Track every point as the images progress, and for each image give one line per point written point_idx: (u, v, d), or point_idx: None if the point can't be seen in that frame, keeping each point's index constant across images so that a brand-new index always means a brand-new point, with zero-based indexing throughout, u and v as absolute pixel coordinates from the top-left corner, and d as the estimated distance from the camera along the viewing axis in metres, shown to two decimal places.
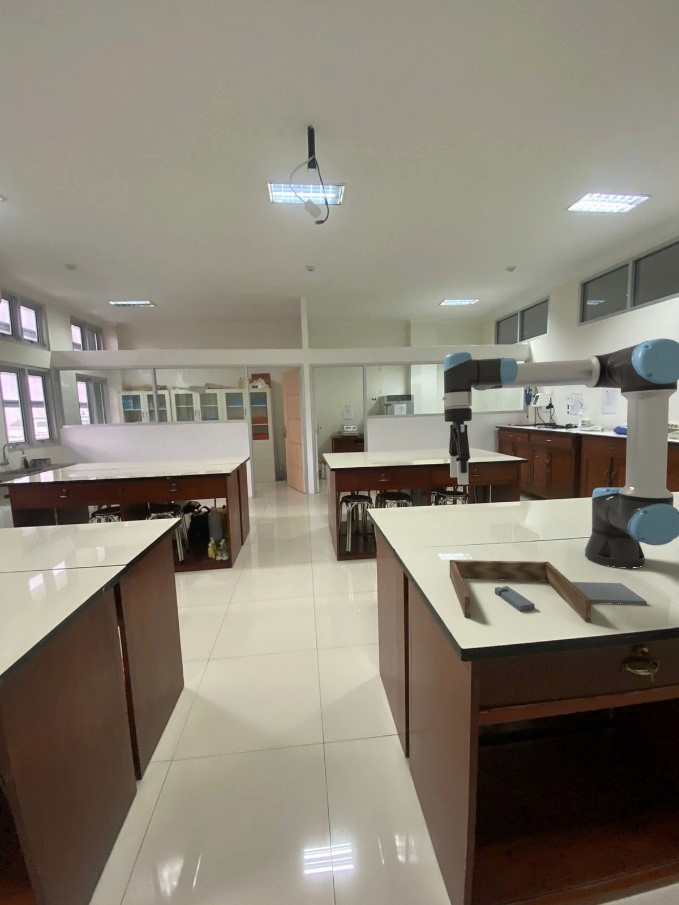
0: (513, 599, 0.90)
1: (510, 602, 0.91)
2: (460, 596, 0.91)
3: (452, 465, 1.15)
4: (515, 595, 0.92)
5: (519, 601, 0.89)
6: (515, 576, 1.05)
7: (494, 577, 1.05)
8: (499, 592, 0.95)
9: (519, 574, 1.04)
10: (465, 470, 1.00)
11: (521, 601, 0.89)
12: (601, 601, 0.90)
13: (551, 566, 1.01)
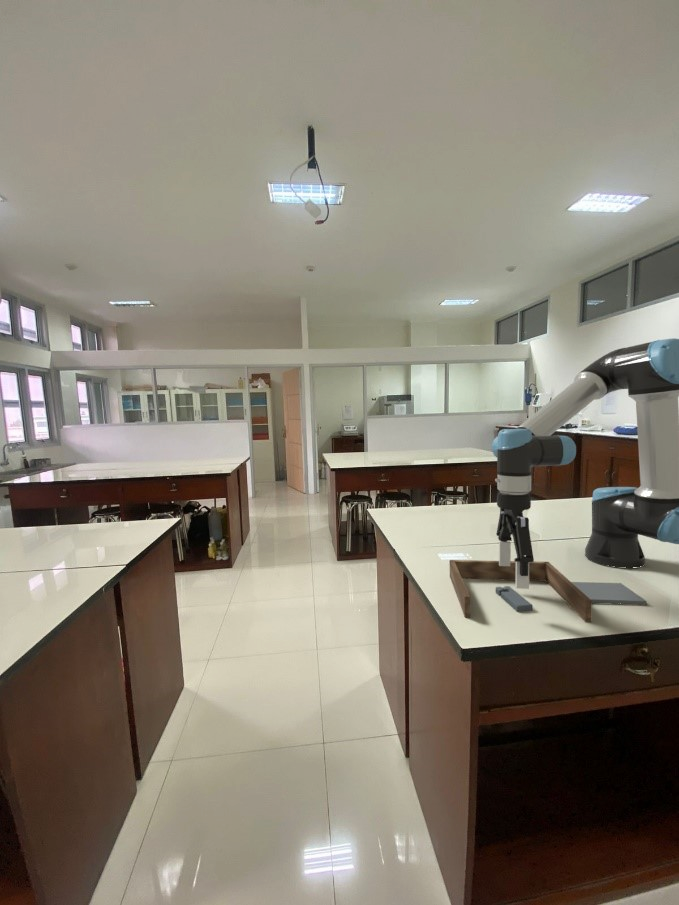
0: (511, 599, 0.90)
1: (508, 602, 0.91)
2: (460, 596, 0.91)
3: (502, 552, 0.98)
4: (514, 595, 0.92)
5: (517, 601, 0.89)
6: (515, 576, 1.05)
7: (494, 577, 1.05)
8: (499, 592, 0.96)
9: None
10: (526, 573, 0.84)
11: (519, 601, 0.89)
12: (601, 601, 0.90)
13: (551, 566, 1.01)
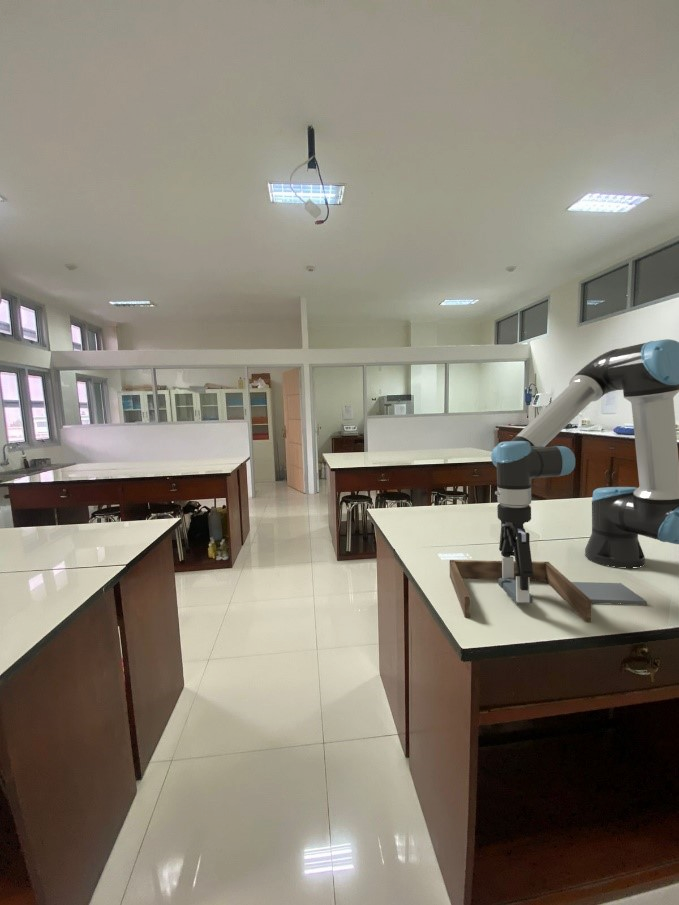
0: (512, 590, 0.90)
1: (509, 593, 0.91)
2: (460, 596, 0.91)
3: (505, 567, 0.98)
4: None
5: None
6: (515, 576, 1.05)
7: (494, 577, 1.05)
8: (501, 583, 0.96)
9: None
10: (526, 587, 0.85)
11: None
12: (601, 601, 0.90)
13: (551, 566, 1.01)
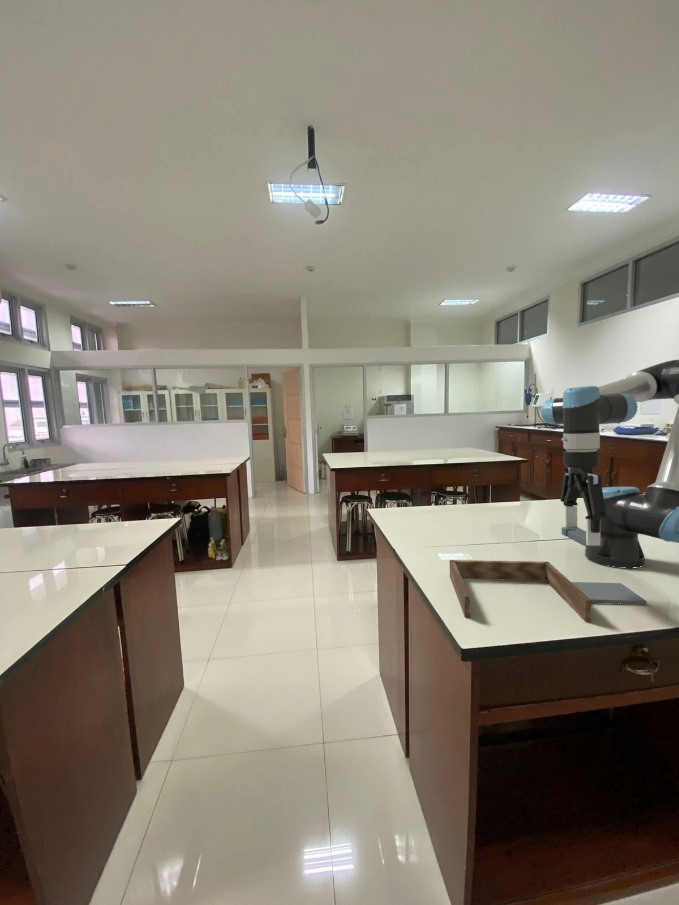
0: (580, 535, 0.91)
1: (576, 538, 0.91)
2: (460, 596, 0.91)
3: (569, 517, 0.98)
4: (582, 532, 0.92)
5: None
6: (515, 576, 1.05)
7: (494, 577, 1.05)
8: (566, 531, 0.96)
9: (519, 574, 1.04)
10: (598, 530, 0.86)
11: None
12: (601, 601, 0.90)
13: (551, 566, 1.01)
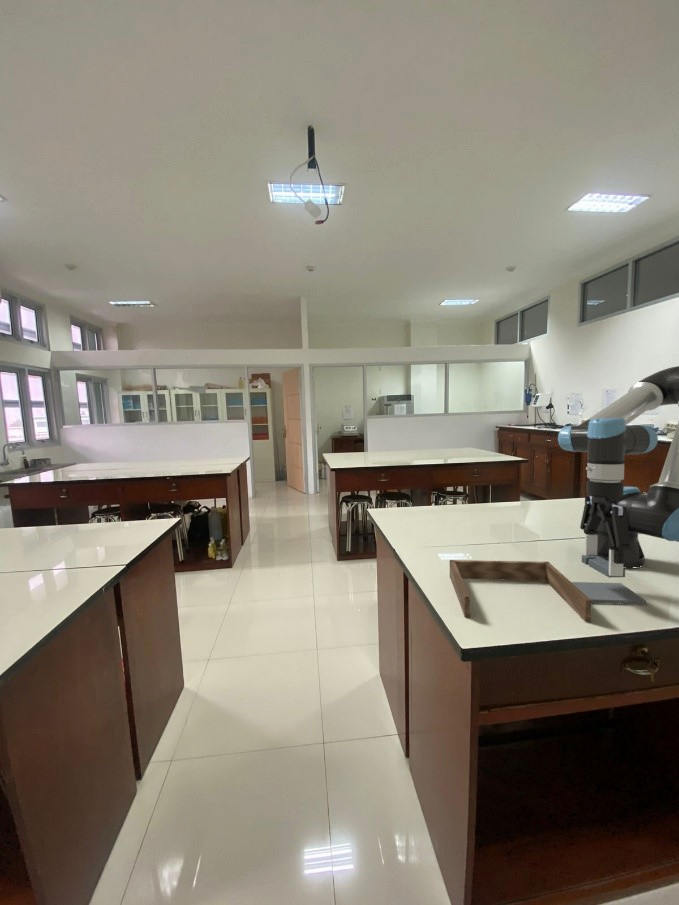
0: (601, 564, 0.91)
1: (598, 567, 0.92)
2: (460, 596, 0.91)
3: (589, 545, 0.99)
4: (604, 562, 0.93)
5: (608, 566, 0.90)
6: (515, 576, 1.05)
7: (494, 577, 1.05)
8: (586, 559, 0.97)
9: (519, 574, 1.04)
10: (621, 561, 0.86)
11: None
12: (601, 601, 0.90)
13: (551, 566, 1.01)
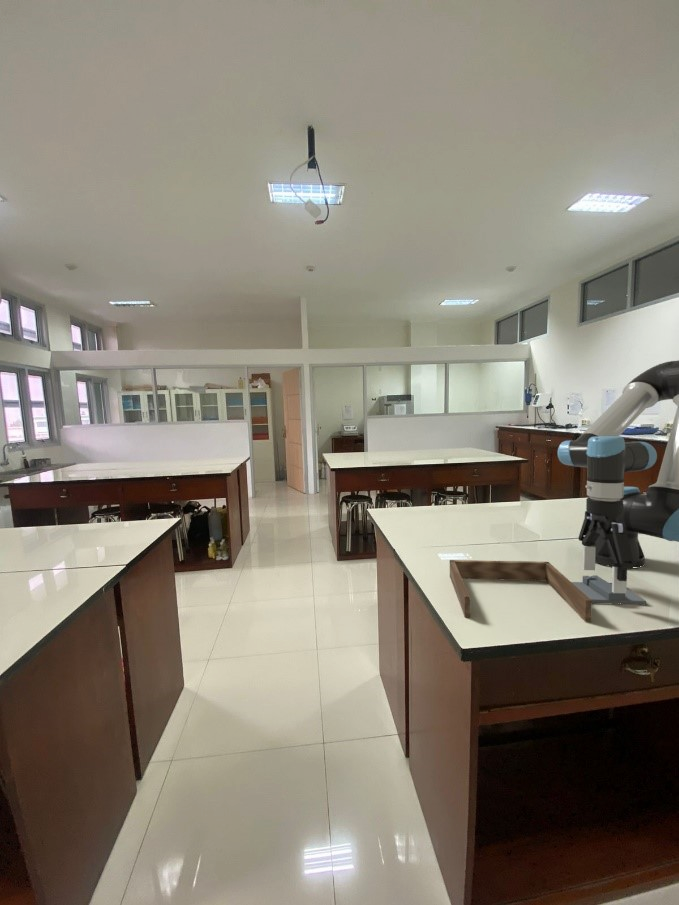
0: (602, 587, 0.92)
1: (598, 590, 0.93)
2: (460, 596, 0.91)
3: (587, 556, 1.00)
4: (604, 584, 0.94)
5: (608, 589, 0.91)
6: (515, 576, 1.05)
7: (494, 577, 1.05)
8: (587, 580, 0.97)
9: (519, 574, 1.04)
10: (625, 578, 0.85)
11: (610, 589, 0.91)
12: (601, 601, 0.90)
13: (551, 566, 1.01)
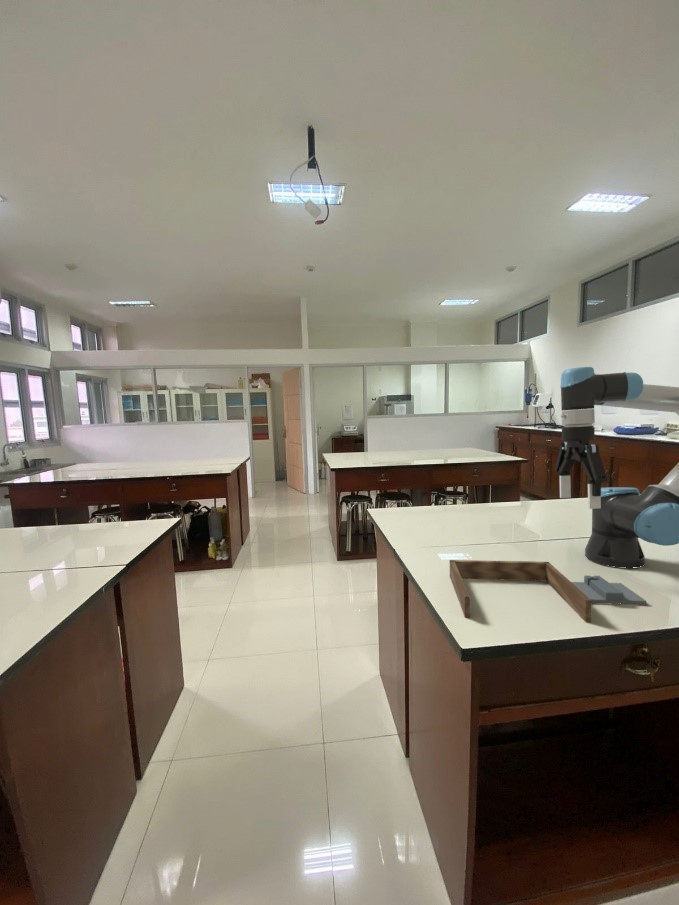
0: (600, 586, 0.92)
1: (597, 589, 0.93)
2: (460, 596, 0.91)
3: (563, 485, 1.08)
4: (604, 584, 0.94)
5: (606, 589, 0.91)
6: (515, 576, 1.05)
7: (494, 577, 1.05)
8: (588, 580, 0.97)
9: (519, 574, 1.04)
10: (599, 493, 0.93)
11: (609, 589, 0.91)
12: (601, 601, 0.90)
13: (551, 566, 1.01)
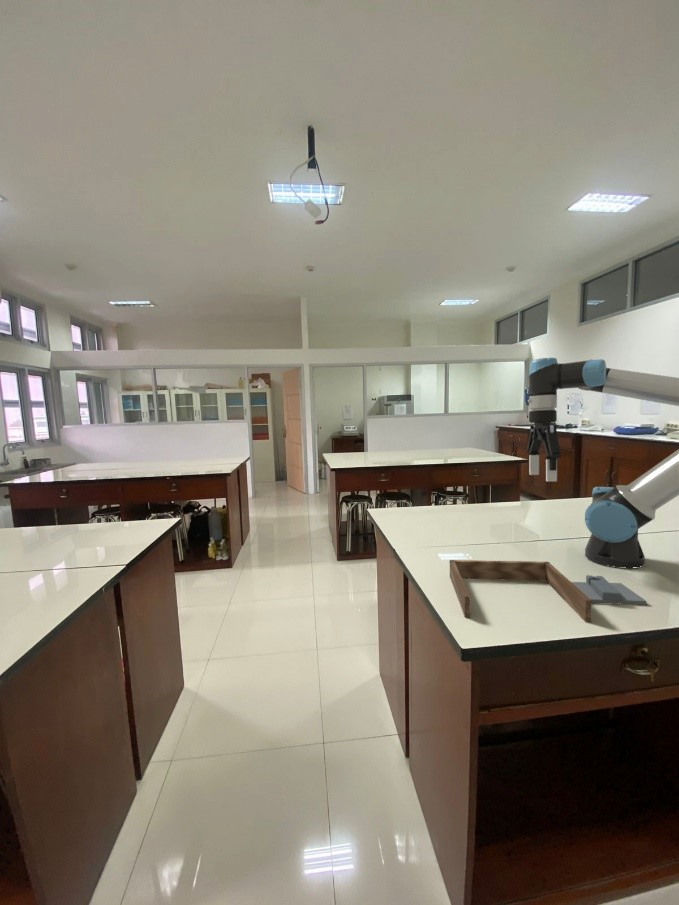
0: (599, 586, 0.92)
1: (596, 589, 0.93)
2: (460, 596, 0.91)
3: (532, 463, 1.22)
4: (604, 584, 0.94)
5: (604, 588, 0.91)
6: (515, 576, 1.05)
7: (494, 577, 1.05)
8: (589, 580, 0.98)
9: (519, 574, 1.04)
10: (555, 468, 1.07)
11: (607, 589, 0.91)
12: (601, 601, 0.90)
13: (551, 566, 1.01)
